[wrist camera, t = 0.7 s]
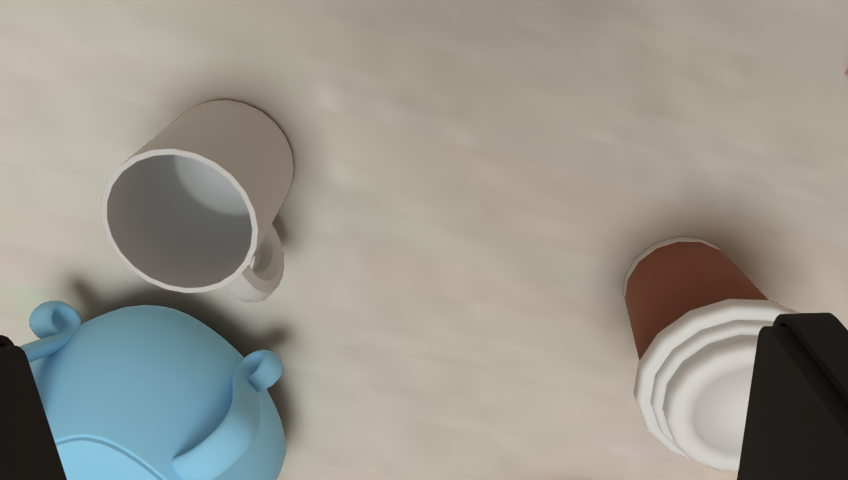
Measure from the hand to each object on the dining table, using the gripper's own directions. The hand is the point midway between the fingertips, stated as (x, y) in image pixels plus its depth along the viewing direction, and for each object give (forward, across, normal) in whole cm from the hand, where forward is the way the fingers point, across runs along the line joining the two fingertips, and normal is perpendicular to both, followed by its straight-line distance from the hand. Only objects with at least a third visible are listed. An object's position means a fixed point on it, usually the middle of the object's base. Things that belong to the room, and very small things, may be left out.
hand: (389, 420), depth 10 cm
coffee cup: (+32, -13, +16) cm, 38 cm away
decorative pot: (+33, +19, +22) cm, 44 cm away
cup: (+32, +12, +8) cm, 35 cm away
